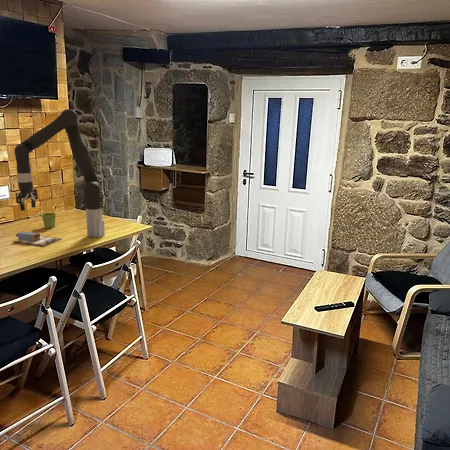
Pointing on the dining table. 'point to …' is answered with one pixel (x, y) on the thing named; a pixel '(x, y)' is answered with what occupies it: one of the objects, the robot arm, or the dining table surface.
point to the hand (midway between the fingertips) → (28, 209)
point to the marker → (28, 236)
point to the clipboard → (40, 241)
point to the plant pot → (49, 220)
